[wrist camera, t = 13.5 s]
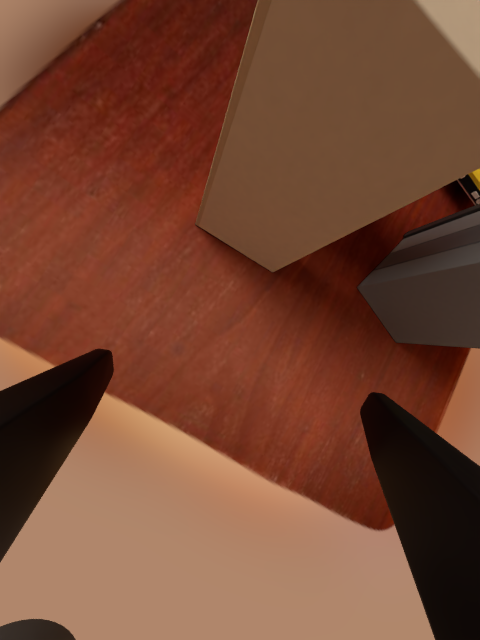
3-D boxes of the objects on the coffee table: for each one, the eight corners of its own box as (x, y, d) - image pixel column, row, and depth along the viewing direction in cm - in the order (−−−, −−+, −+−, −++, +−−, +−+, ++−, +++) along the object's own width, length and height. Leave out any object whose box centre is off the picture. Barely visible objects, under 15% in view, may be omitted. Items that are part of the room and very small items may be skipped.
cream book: (272, 272, 19) (535, 141, 5) (195, 224, 17) (297, -143, 4) (285, 246, 19) (562, 60, 6) (211, 196, 17) (355, -230, 4)
